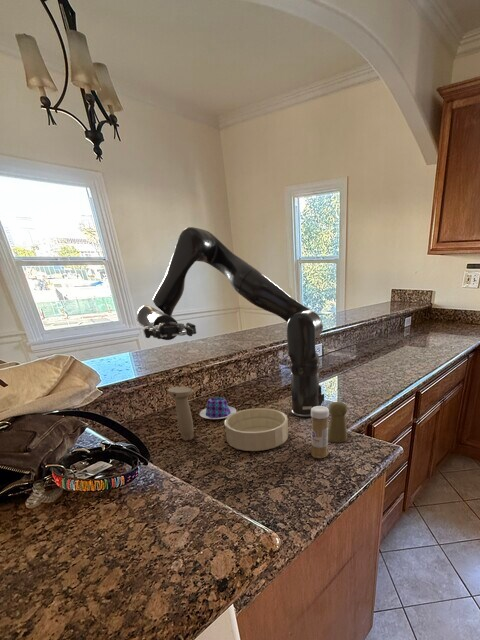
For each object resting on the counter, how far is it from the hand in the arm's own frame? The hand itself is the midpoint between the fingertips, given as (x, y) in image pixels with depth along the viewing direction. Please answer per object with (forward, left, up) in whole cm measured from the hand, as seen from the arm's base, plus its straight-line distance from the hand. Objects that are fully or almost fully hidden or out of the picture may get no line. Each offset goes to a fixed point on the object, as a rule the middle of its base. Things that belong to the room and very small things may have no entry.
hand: (175, 333), depth 100 cm
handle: (+3, +11, -28) cm, 30 cm away
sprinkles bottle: (-24, +39, -28) cm, 54 cm away
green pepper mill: (-34, +33, -28) cm, 55 cm away
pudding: (-10, -3, -28) cm, 30 cm away
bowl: (-14, +21, -28) cm, 38 cm away
